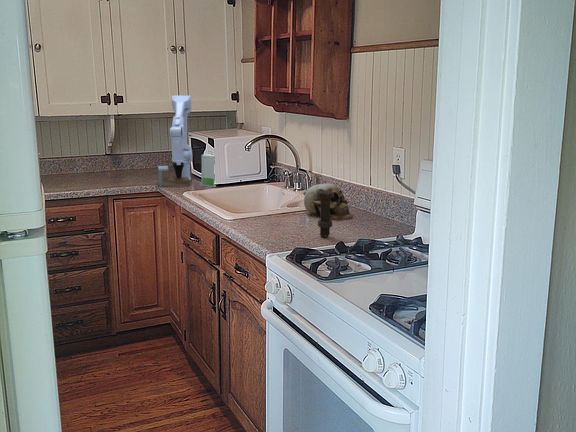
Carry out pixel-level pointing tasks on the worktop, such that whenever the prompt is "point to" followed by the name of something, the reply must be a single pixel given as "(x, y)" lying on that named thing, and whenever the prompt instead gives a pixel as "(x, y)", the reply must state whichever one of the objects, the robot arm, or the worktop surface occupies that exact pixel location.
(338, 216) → the grey skull
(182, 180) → the socket block
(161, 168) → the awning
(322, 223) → the bolt
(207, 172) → the skincare box
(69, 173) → the worktop surface
